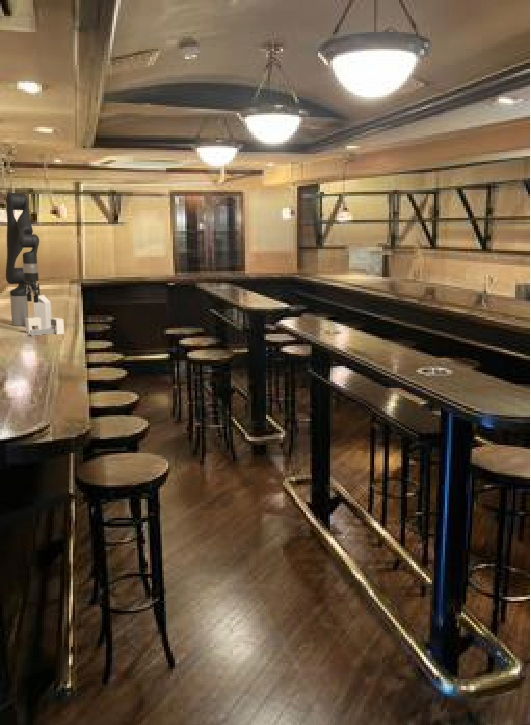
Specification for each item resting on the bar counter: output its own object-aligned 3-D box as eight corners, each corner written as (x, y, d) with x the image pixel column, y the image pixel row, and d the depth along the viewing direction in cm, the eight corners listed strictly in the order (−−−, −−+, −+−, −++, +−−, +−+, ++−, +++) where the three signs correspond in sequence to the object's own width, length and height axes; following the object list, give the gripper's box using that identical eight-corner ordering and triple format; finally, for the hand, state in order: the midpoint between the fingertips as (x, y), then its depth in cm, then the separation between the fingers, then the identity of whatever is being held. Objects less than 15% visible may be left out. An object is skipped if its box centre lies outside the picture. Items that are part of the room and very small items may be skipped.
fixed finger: (50, 332, 341) (49, 318, 339) (58, 332, 344) (57, 317, 342) (56, 334, 336) (55, 319, 334) (64, 333, 339) (63, 319, 337)
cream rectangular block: (29, 333, 337) (28, 318, 335) (25, 332, 340) (24, 318, 338) (41, 332, 342) (40, 317, 340) (38, 331, 345) (37, 316, 343)
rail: (29, 335, 330) (29, 330, 330) (60, 332, 342) (59, 327, 341) (31, 336, 329) (31, 330, 328) (62, 333, 340) (61, 327, 340)
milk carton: (52, 327, 358) (50, 294, 354) (46, 329, 351) (44, 296, 347) (40, 327, 358) (38, 294, 354) (34, 329, 351) (32, 295, 347)
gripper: (18, 271, 337) (20, 301, 340) (29, 272, 326) (31, 303, 330) (32, 271, 342) (34, 300, 345) (43, 272, 332) (45, 302, 335)
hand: (32, 302), depth 337 cm, fingers open, 8 cm apart
